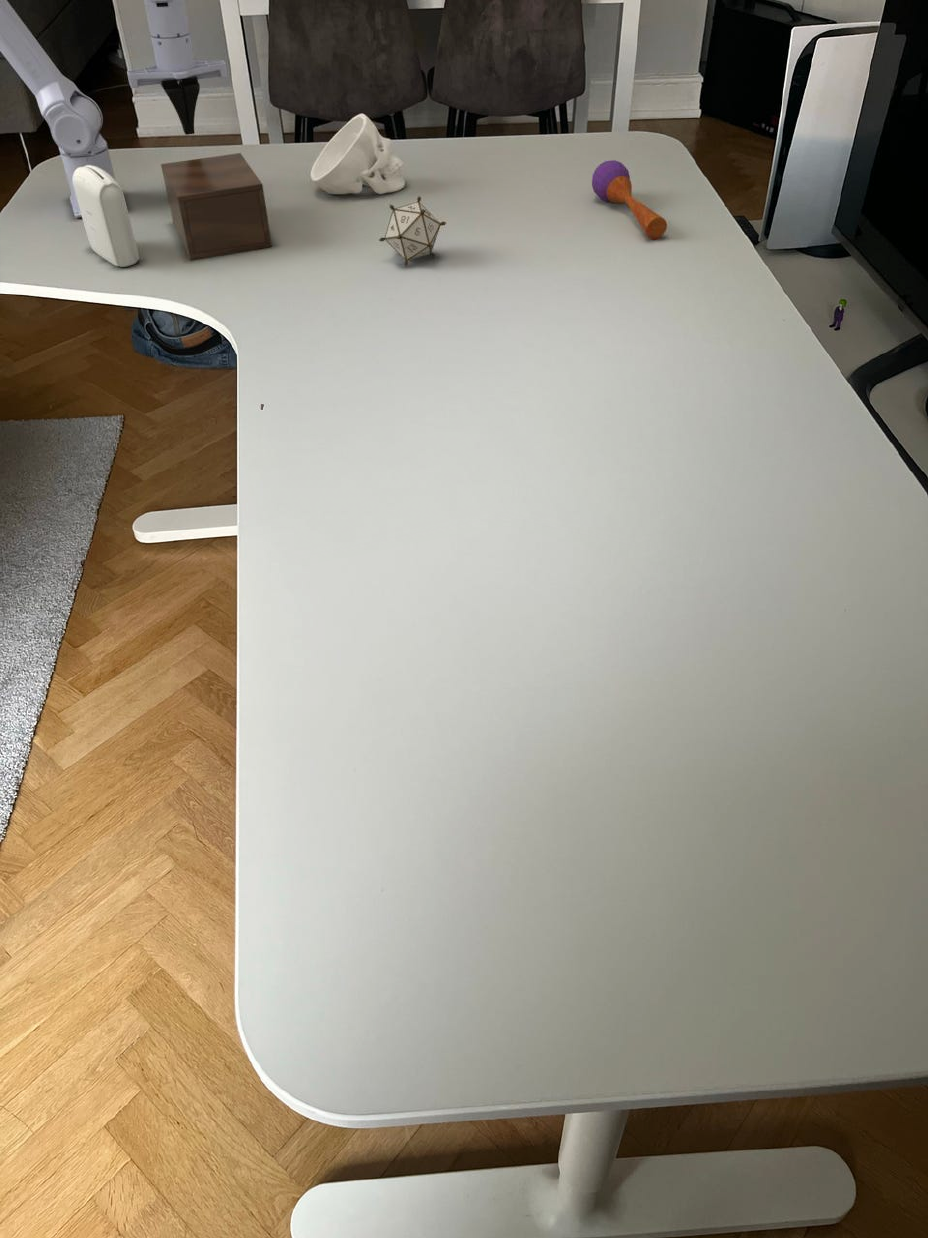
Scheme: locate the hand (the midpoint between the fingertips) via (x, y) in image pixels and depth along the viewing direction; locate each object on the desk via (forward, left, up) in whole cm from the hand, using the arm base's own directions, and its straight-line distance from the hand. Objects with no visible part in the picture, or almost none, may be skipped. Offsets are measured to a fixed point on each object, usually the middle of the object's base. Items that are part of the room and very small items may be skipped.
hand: (189, 132), depth 155 cm
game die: (+36, +24, -11) cm, 45 cm away
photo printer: (+17, -16, -11) cm, 26 cm away
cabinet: (+16, 0, -10) cm, 19 cm away
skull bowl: (+6, +25, -11) cm, 28 cm away
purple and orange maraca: (+34, +60, -11) cm, 70 cm away
